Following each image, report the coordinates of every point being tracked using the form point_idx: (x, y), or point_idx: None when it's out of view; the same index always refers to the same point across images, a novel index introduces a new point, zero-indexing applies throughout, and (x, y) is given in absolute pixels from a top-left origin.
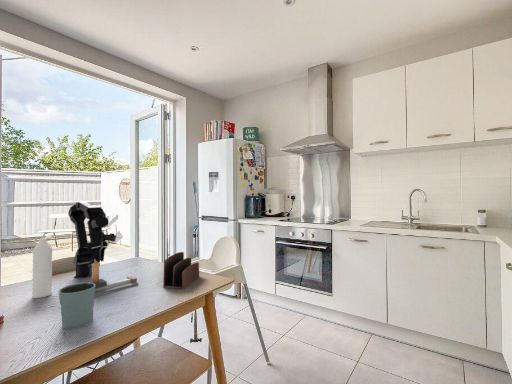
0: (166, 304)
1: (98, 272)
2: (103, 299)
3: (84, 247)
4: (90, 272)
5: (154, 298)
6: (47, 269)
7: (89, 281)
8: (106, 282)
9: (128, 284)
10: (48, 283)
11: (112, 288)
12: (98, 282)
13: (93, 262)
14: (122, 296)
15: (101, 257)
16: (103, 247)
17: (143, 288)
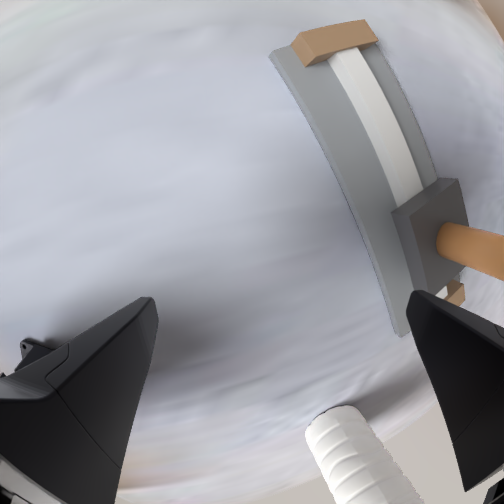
0: (499, 43)
1: (495, 235)
2: (471, 183)
3: None
4: (45, 355)
5: (478, 44)
6: (408, 481)
7: (426, 278)
8: (453, 180)
9: (379, 70)
10: (374, 438)
11: (415, 150)
12: (458, 221)
13: (2, 377)
14: (464, 117)
15: (139, 350)
16: (15, 458)
17: (406, 29)
